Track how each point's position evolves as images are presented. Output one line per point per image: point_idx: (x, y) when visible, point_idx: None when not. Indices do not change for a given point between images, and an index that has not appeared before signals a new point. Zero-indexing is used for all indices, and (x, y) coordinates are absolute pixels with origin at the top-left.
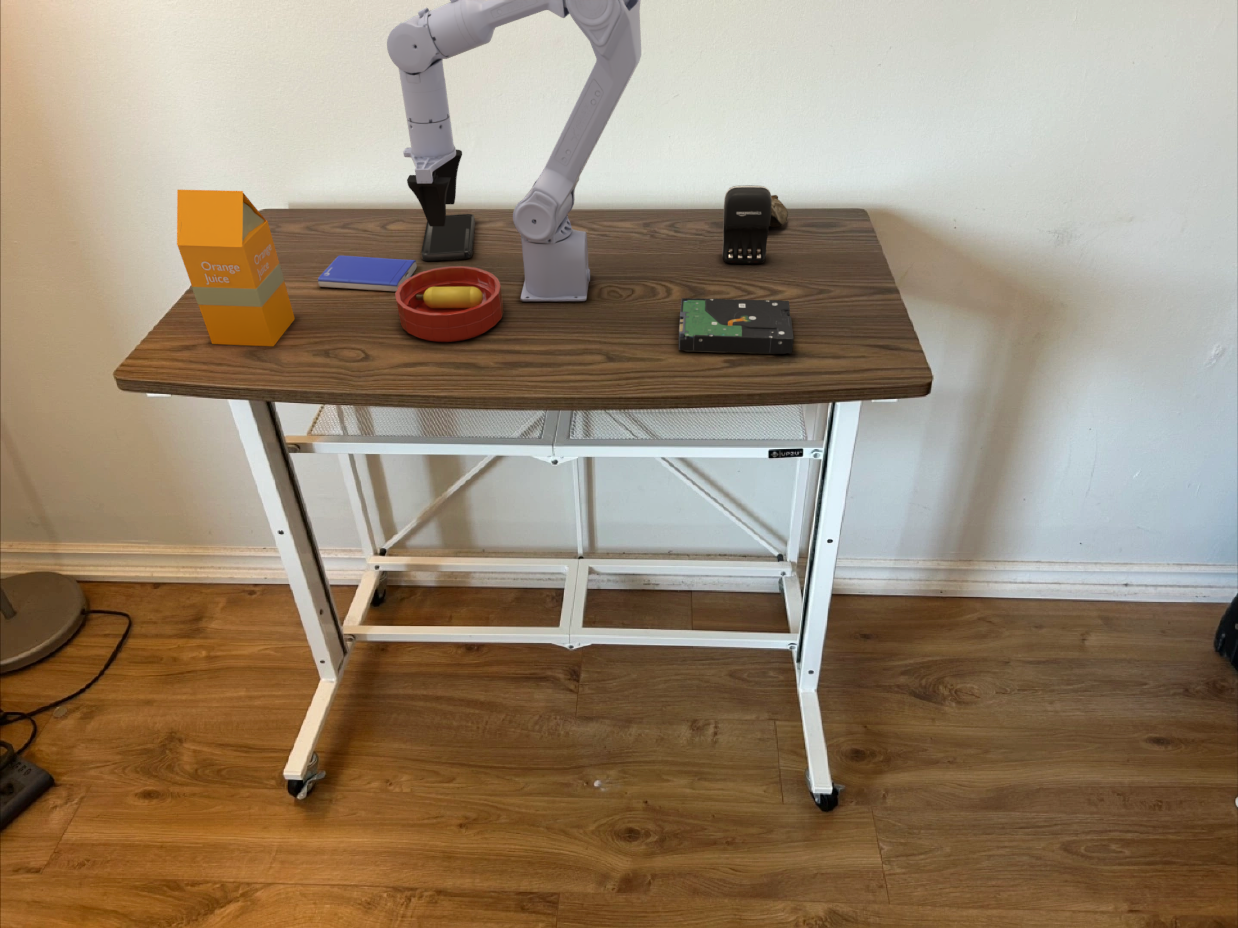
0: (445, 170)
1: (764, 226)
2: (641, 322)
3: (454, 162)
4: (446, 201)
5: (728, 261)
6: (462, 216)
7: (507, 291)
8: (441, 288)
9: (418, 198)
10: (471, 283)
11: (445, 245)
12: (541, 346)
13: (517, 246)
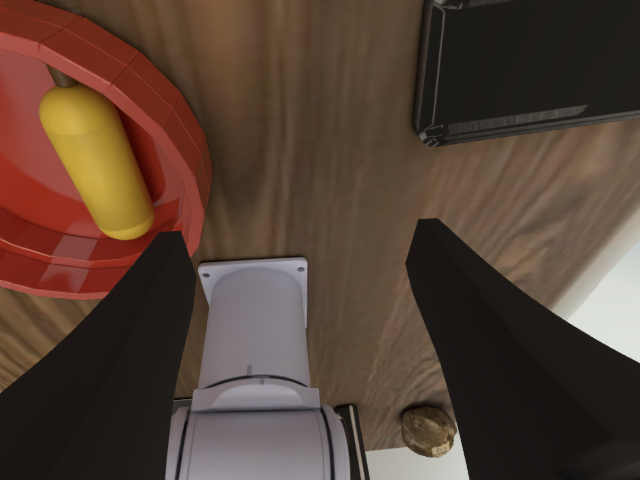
0: (477, 404)
1: None
2: (178, 375)
3: (479, 476)
4: (415, 252)
5: (334, 411)
6: None
7: (242, 234)
8: (77, 162)
9: (26, 376)
10: (183, 206)
11: (491, 60)
12: (51, 306)
13: (453, 219)
